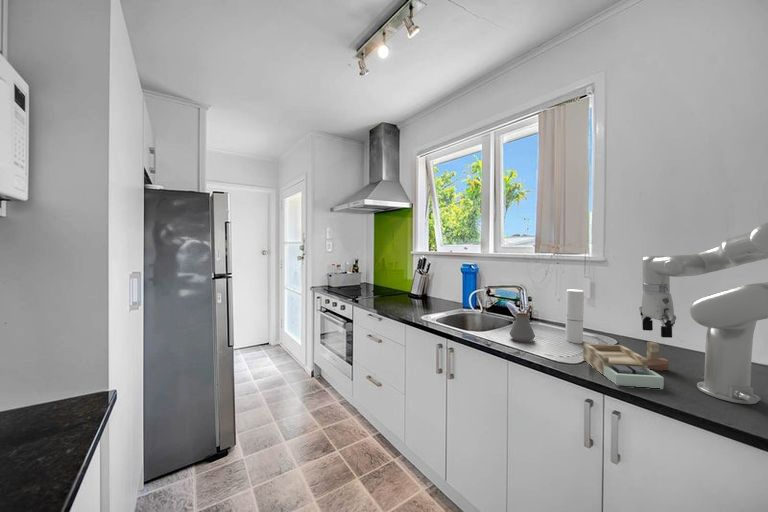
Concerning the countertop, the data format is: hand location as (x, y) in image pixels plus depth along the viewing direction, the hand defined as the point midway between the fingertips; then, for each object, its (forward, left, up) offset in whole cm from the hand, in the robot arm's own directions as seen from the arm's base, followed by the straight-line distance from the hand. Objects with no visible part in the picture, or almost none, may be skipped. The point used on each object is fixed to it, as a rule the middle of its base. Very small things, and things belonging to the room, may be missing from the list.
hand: (656, 333), depth 112 cm
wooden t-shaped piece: (+1, +1, -14) cm, 14 cm away
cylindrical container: (+31, +15, -14) cm, 37 cm away
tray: (-13, +15, -14) cm, 24 cm away
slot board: (-2, +15, -14) cm, 21 cm away
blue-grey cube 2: (-10, +18, -11) cm, 24 cm away
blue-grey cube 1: (-10, +13, -11) cm, 20 cm away
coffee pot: (+33, +37, -14) cm, 52 cm away
